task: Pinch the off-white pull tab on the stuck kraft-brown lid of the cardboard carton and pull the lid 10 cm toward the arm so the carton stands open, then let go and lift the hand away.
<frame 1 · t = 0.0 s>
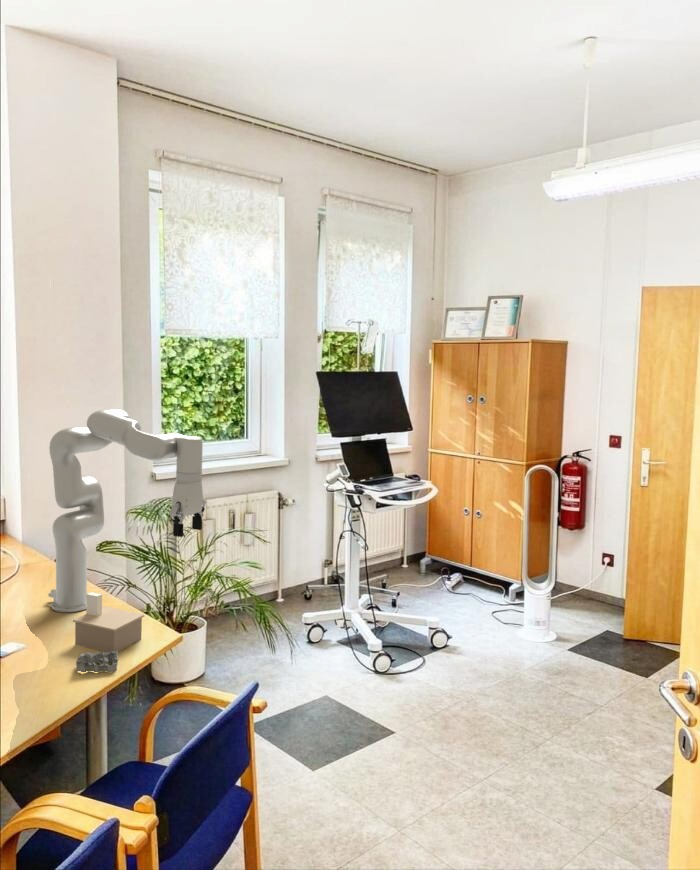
hand: (187, 532, 215), 31 cm above the table, tool pointing down, fingers open, 9 cm apart
carton: (108, 641, 209), on the table
lid: (109, 608, 207), point 10 cm above the table, slide at 0.0 cm
egg carton: (97, 669, 192), on the table
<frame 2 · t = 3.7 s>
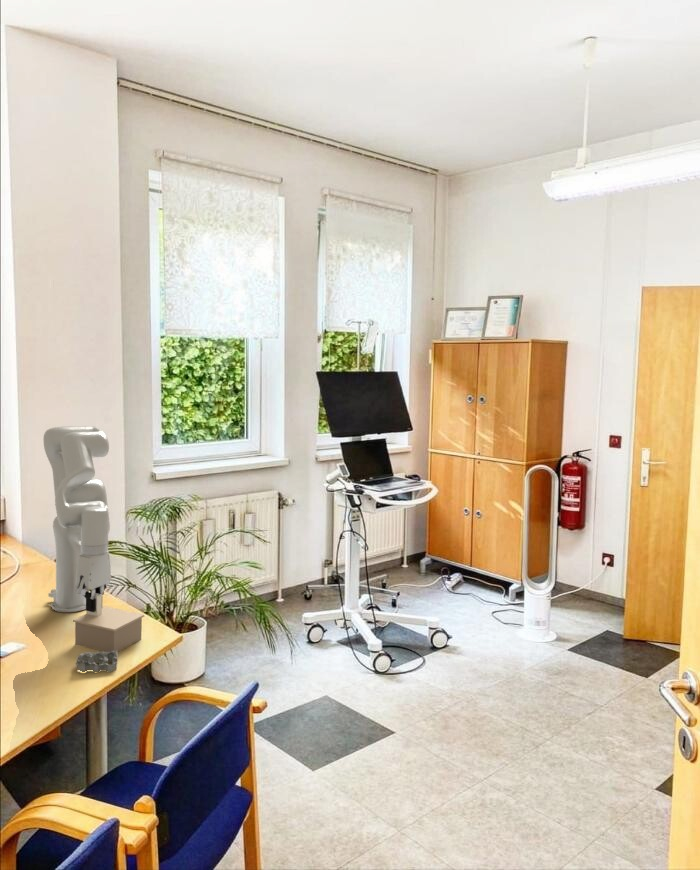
hand: (94, 609, 210), 9 cm above the table, tool pointing down, fingers closed on lid, 2 cm apart
lid: (109, 608, 207), point 10 cm above the table, slide at 0.0 cm, touching gripper
everything else where it was.
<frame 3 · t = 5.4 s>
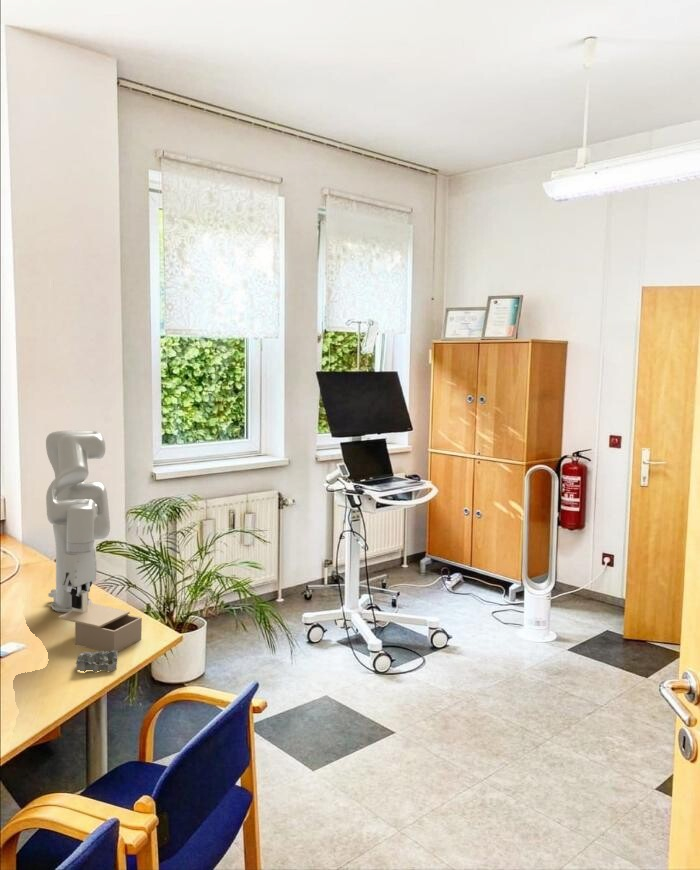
hand: (80, 606, 212), 9 cm above the table, tool pointing down, fingers closed on lid, 2 cm apart
lid: (94, 605, 209), point 10 cm above the table, slide at 5.3 cm, touching gripper
everything else where it was.
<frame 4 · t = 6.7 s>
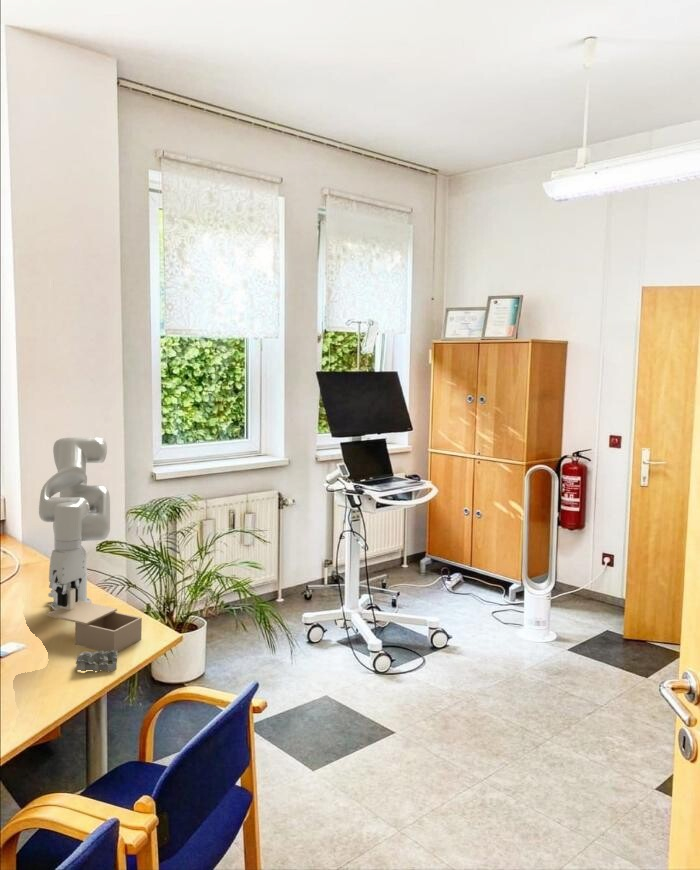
hand: (67, 602, 213), 9 cm above the table, tool pointing down, fingers open, 3 cm apart
lid: (82, 602, 211), point 10 cm above the table, slide at 10.0 cm
everything else where it was.
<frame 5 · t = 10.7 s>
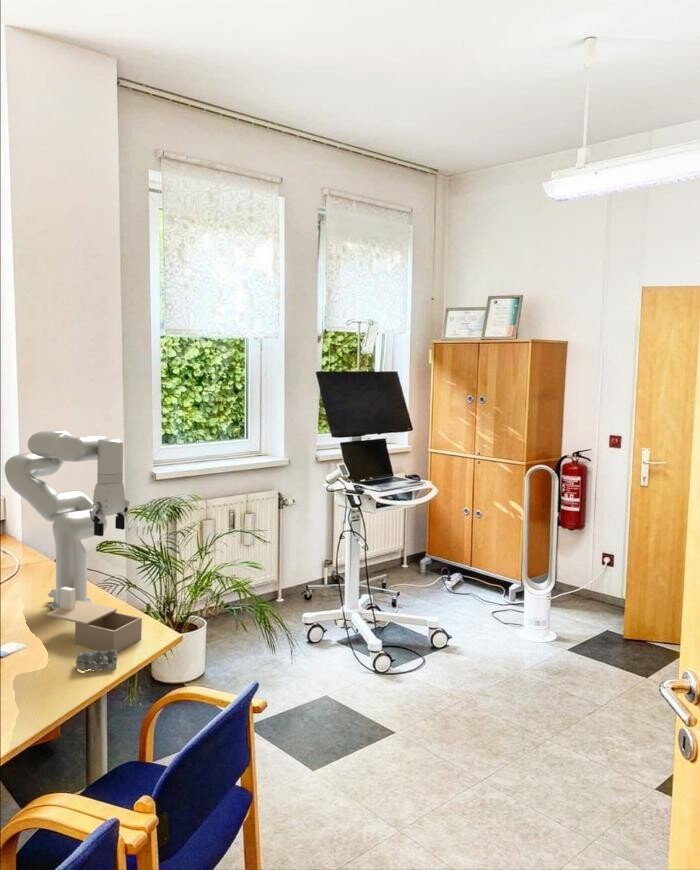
hand: (109, 532, 223), 28 cm above the table, tool pointing down, fingers open, 9 cm apart
nothing on the table moved.
at the end: lid slide at 10.0 cm; the gripper is holding nothing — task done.
